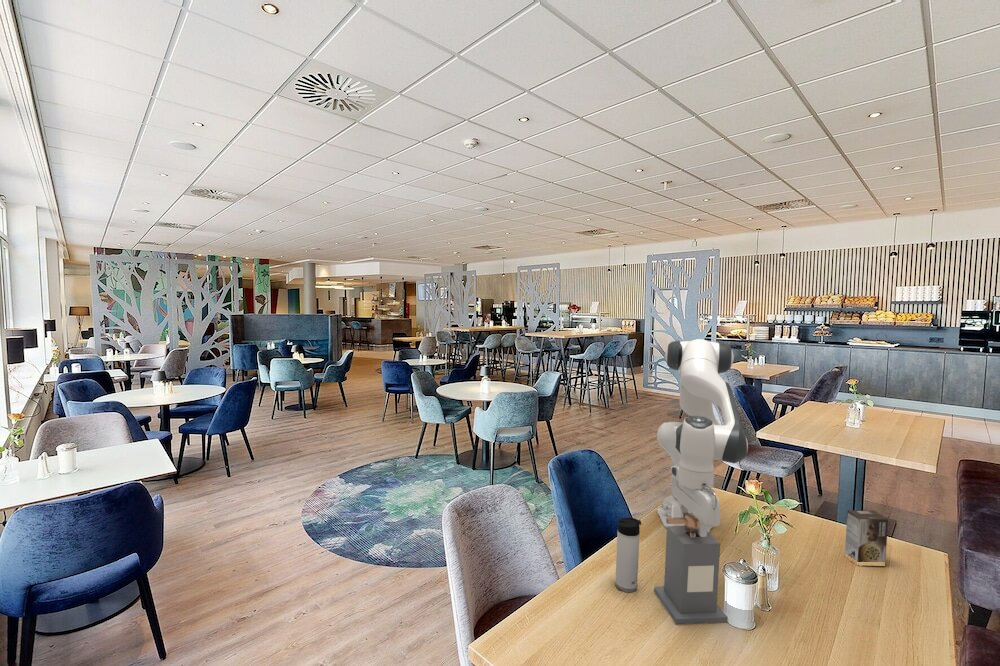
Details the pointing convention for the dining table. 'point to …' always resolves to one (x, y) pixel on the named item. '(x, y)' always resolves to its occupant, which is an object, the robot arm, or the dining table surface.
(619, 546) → the travel mug
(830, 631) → the dining table surface
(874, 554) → the coffee box
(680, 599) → the grey box with base
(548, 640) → the dining table surface
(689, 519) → the pump head
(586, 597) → the dining table surface
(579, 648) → the dining table surface
